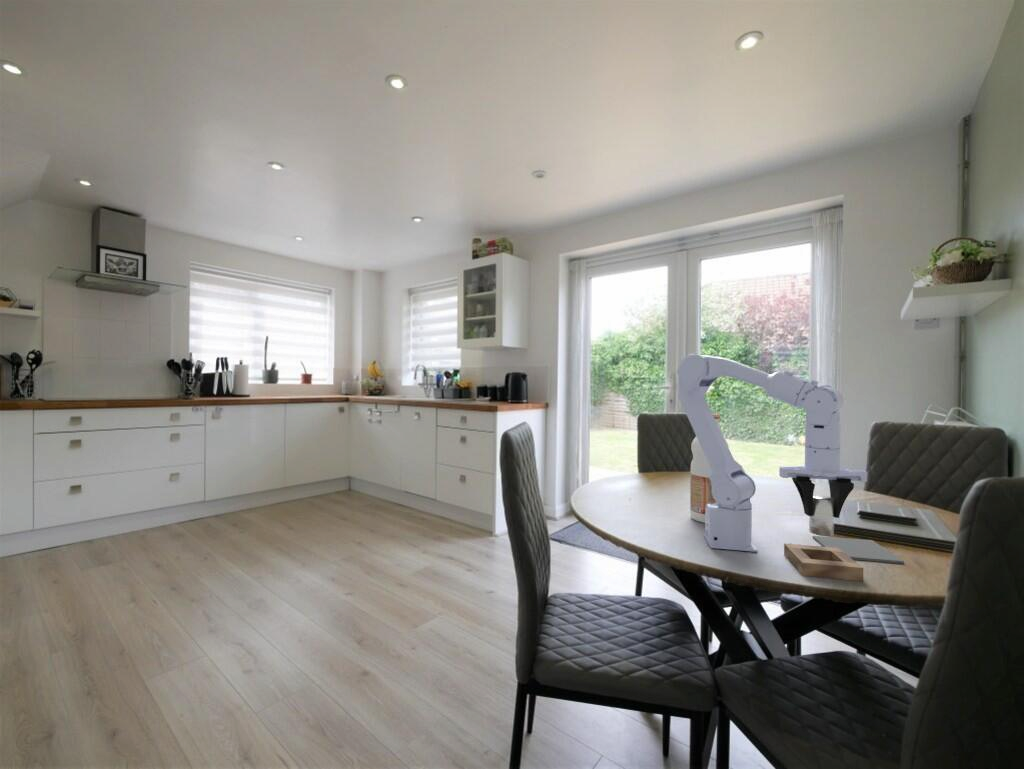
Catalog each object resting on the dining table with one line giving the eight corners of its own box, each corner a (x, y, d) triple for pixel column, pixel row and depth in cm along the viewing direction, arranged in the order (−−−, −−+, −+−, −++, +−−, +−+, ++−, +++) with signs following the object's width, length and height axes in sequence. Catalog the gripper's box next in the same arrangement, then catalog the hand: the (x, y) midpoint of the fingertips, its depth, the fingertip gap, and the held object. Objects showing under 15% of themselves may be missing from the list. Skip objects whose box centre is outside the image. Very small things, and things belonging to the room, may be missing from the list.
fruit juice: (684, 519, 119) (685, 414, 118) (697, 511, 125) (698, 412, 125) (721, 527, 112) (722, 416, 112) (733, 518, 119) (734, 414, 119)
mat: (835, 557, 93) (836, 555, 93) (812, 537, 105) (812, 535, 105) (904, 563, 90) (904, 561, 90) (872, 542, 102) (872, 540, 102)
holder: (802, 575, 85) (802, 562, 85) (784, 555, 95) (784, 543, 95) (863, 581, 83) (863, 567, 83) (838, 559, 92) (838, 547, 92)
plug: (813, 535, 87) (814, 499, 87) (805, 528, 91) (806, 494, 91) (837, 537, 86) (837, 501, 86) (828, 530, 90) (828, 495, 90)
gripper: (788, 448, 86) (787, 518, 86) (876, 451, 83) (875, 524, 83) (776, 443, 93) (775, 508, 93) (856, 446, 89) (856, 513, 90)
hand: (821, 515), depth 89 cm, fingers closed on plug, 4 cm apart
